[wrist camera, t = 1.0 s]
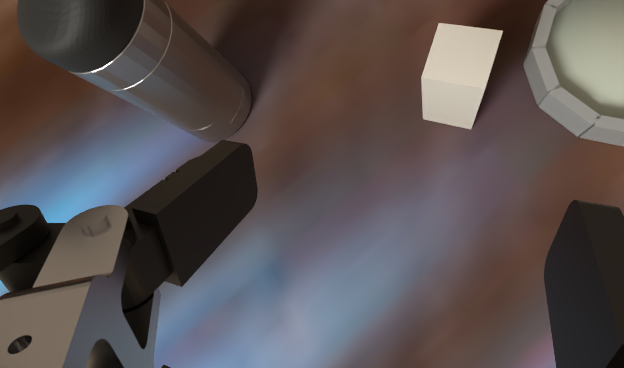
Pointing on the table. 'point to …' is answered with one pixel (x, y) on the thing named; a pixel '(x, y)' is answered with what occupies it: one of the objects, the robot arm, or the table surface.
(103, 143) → the table surface
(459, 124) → the cream rectangular block
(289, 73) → the table surface
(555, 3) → the round tray
